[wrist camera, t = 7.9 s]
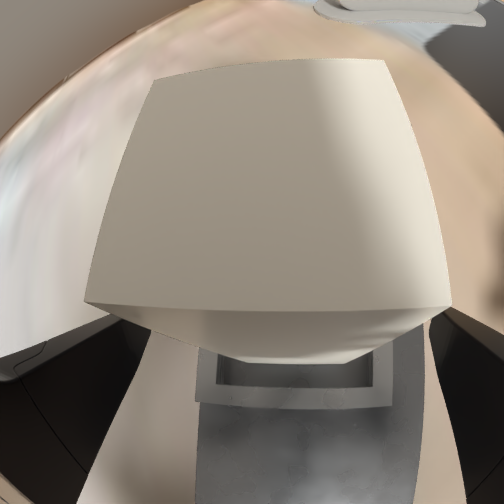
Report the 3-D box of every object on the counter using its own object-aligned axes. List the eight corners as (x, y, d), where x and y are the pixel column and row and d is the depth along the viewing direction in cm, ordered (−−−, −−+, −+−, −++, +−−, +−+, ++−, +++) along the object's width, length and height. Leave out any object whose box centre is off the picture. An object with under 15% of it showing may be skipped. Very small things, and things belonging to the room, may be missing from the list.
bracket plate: (405, 510, 11) (417, 526, 9) (200, 507, 14) (185, 521, 11) (408, 242, 18) (420, 223, 16) (219, 245, 20) (207, 227, 18)
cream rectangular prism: (343, 364, 15) (452, 305, 3) (248, 362, 16) (83, 301, 4) (342, 269, 17) (382, 56, 5) (253, 270, 18) (156, 76, 6)
